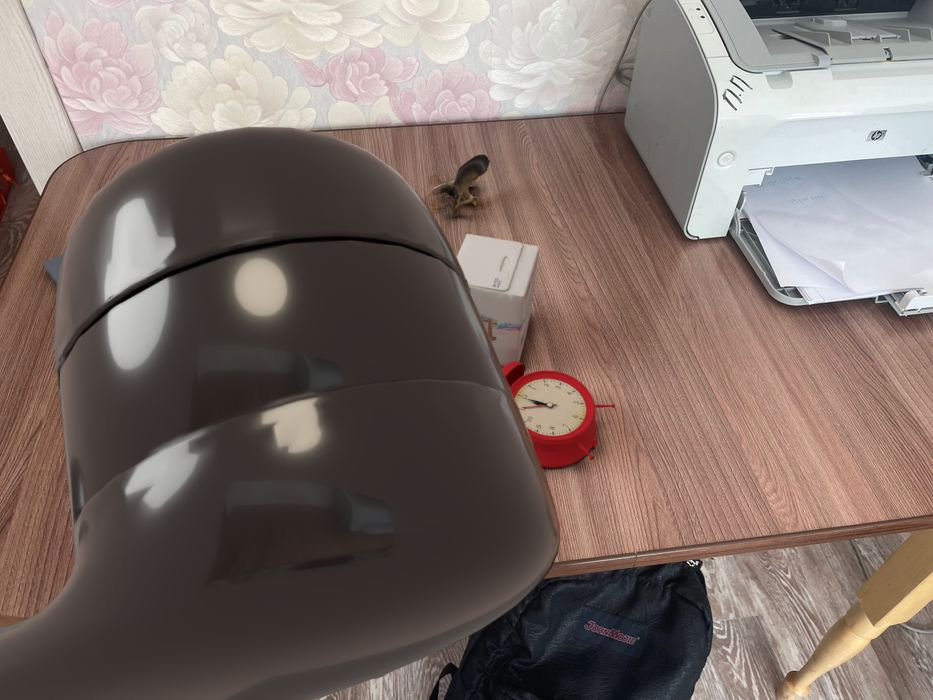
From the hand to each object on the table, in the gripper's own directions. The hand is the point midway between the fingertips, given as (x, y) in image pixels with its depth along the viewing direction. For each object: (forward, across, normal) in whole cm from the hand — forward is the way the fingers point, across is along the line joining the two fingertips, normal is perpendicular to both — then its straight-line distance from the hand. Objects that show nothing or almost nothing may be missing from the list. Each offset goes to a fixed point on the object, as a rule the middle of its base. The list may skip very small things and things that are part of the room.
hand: (158, 302), depth 61 cm
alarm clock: (-21, -26, +18) cm, 38 cm away
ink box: (-9, -31, +18) cm, 37 cm away
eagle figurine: (+13, -46, +18) cm, 51 cm away
